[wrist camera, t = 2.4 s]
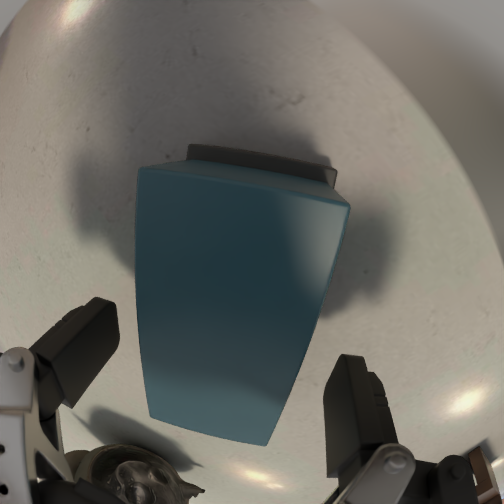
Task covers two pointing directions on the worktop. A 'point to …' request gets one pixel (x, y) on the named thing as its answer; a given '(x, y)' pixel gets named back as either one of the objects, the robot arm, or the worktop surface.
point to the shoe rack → (484, 478)
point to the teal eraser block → (231, 284)
